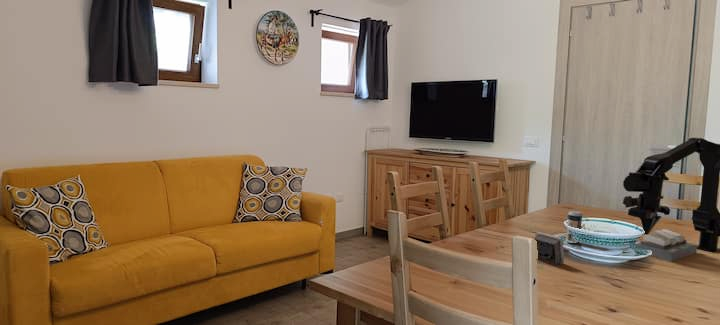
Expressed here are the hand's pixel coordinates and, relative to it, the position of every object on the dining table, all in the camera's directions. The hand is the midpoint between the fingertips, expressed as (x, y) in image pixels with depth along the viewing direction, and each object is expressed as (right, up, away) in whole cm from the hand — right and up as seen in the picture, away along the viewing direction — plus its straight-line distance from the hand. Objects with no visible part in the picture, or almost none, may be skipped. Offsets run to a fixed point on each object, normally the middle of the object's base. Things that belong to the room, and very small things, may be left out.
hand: (645, 234), depth 174 cm
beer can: (-23, -5, +9) cm, 25 cm away
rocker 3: (+12, -1, +4) cm, 13 cm away
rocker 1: (+2, -2, -3) cm, 4 cm away
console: (+7, -7, 0) cm, 10 cm away
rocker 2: (+7, -2, +1) cm, 7 cm away
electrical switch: (-42, -7, -15) cm, 45 cm away
